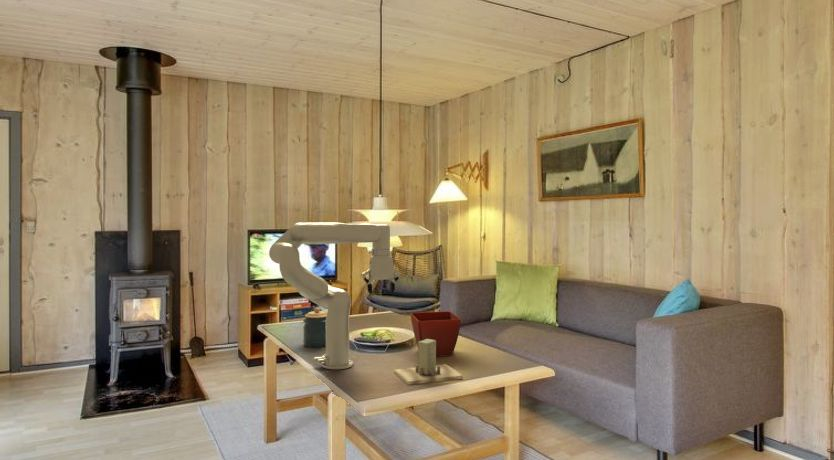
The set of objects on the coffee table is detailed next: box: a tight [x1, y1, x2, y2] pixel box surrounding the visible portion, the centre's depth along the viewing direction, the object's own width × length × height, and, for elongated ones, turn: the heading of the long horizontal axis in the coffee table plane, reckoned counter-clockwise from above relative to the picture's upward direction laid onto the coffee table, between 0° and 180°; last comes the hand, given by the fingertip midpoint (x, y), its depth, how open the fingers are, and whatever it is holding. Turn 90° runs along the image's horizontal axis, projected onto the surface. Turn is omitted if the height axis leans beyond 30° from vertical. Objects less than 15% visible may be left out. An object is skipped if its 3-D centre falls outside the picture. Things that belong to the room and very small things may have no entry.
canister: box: [302, 307, 327, 349], centre depth 254 cm, size 13×13×18 cm
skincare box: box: [417, 339, 437, 375], centre depth 206 cm, size 6×4×12 cm
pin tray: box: [394, 363, 464, 386], centre depth 206 cm, size 22×16×4 cm
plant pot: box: [410, 310, 462, 357], centre depth 239 cm, size 19×19×17 cm
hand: (381, 292), depth 230 cm, fingers open, 9 cm apart
